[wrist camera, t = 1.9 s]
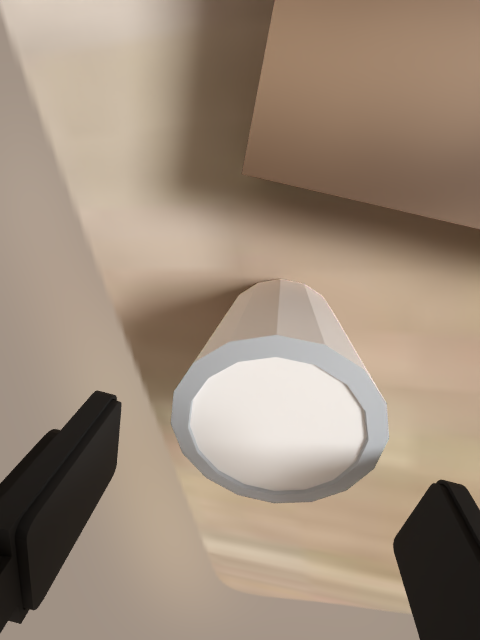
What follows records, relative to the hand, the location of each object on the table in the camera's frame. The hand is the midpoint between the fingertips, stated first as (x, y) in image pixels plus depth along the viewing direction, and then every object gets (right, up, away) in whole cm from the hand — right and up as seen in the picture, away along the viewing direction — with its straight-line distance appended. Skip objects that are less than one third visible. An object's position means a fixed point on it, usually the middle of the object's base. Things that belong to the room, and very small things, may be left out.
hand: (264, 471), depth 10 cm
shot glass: (+1, +4, +7) cm, 8 cm away
